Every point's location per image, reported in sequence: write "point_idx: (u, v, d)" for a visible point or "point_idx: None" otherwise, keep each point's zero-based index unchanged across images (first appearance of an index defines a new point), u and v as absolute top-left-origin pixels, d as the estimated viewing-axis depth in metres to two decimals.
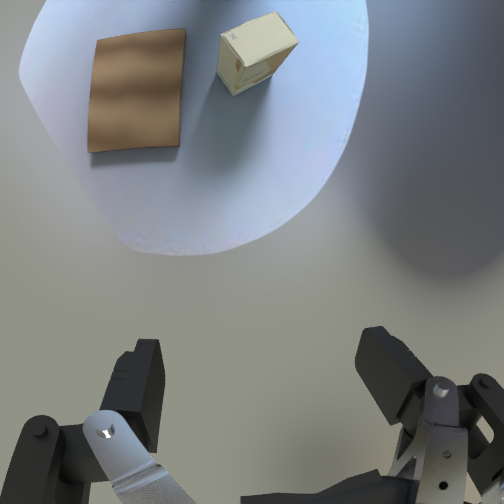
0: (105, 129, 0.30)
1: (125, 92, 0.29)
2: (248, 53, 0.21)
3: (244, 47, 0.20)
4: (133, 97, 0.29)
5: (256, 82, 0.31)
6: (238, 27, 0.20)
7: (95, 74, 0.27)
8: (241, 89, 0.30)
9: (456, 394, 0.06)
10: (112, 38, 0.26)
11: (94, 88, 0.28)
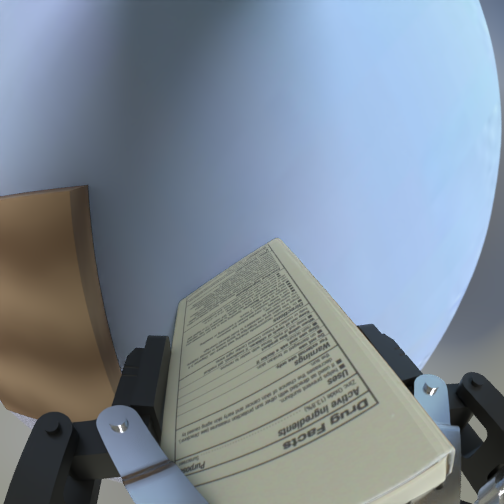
0: (12, 392, 0.13)
1: (10, 347, 0.12)
2: None
3: None
4: (25, 359, 0.12)
5: None
6: None
7: None
8: None
9: (445, 392, 0.06)
10: None
11: None
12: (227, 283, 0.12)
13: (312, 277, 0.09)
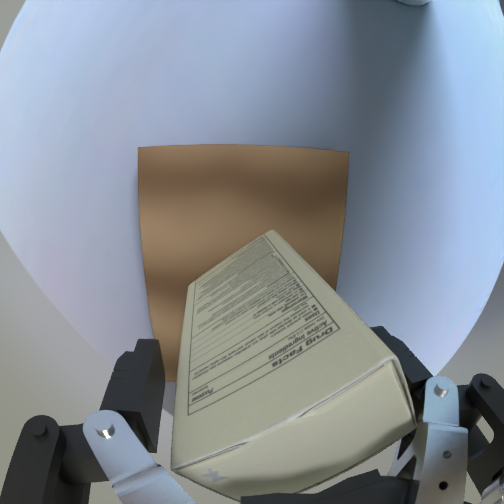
0: None
1: None
2: None
3: (253, 489, 0.06)
4: None
5: None
6: (229, 454, 0.05)
7: (150, 243, 0.16)
8: None
9: (456, 394, 0.06)
10: (178, 149, 0.14)
11: (154, 275, 0.16)
12: (230, 266, 0.15)
13: (298, 255, 0.12)
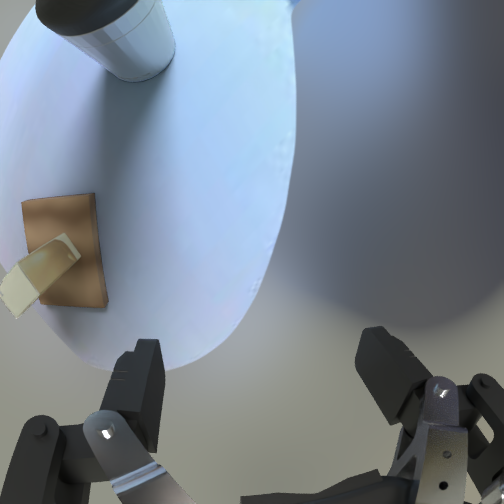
0: (48, 289, 0.35)
1: None
2: (13, 308, 0.23)
3: (10, 303, 0.22)
4: None
5: None
6: (1, 284, 0.22)
7: (28, 239, 0.32)
8: None
9: (456, 394, 0.06)
10: (32, 202, 0.30)
11: (31, 252, 0.33)
12: None
13: (47, 242, 0.28)
